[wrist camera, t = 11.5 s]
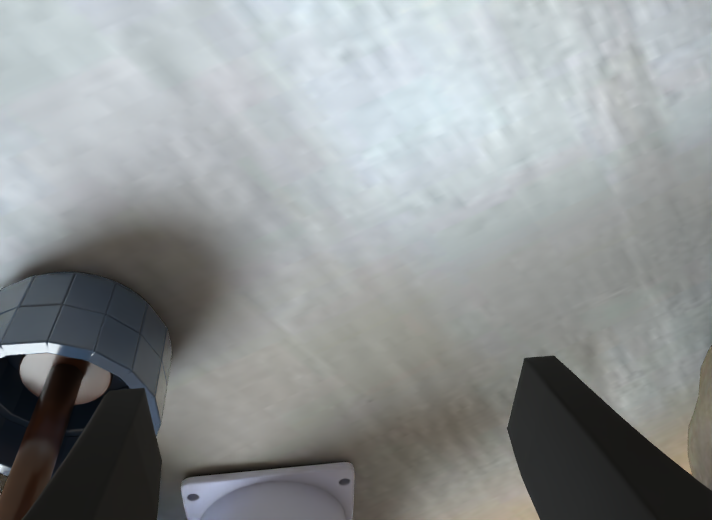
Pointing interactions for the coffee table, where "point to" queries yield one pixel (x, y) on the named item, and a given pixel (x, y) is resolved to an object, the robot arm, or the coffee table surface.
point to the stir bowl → (77, 347)
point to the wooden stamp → (47, 423)
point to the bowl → (702, 428)
